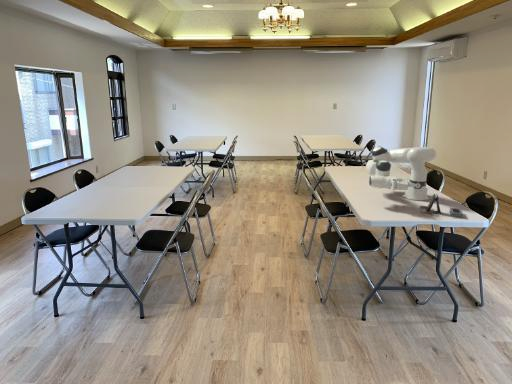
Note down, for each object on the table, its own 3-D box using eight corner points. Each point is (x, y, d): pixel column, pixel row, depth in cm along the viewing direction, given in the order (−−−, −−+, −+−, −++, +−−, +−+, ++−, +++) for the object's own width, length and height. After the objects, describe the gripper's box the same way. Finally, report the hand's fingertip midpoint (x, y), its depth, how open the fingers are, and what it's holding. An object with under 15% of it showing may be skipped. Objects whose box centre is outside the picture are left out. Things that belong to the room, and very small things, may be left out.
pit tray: (449, 211, 260) (450, 207, 259) (459, 213, 257) (460, 208, 257) (451, 216, 249) (452, 212, 248) (462, 218, 247) (463, 213, 246)
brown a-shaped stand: (440, 211, 259) (442, 194, 256) (440, 214, 254) (443, 196, 251) (425, 209, 262) (428, 193, 259) (426, 212, 257) (428, 195, 254)
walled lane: (419, 207, 267) (420, 205, 267) (430, 208, 265) (431, 206, 265) (420, 213, 253) (421, 211, 252) (432, 215, 251) (432, 213, 250)
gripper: (393, 184, 272) (414, 186, 267) (392, 190, 253) (415, 192, 249) (394, 175, 270) (415, 177, 266) (393, 181, 252) (416, 183, 247)
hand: (415, 185), depth 257 cm, fingers closed
